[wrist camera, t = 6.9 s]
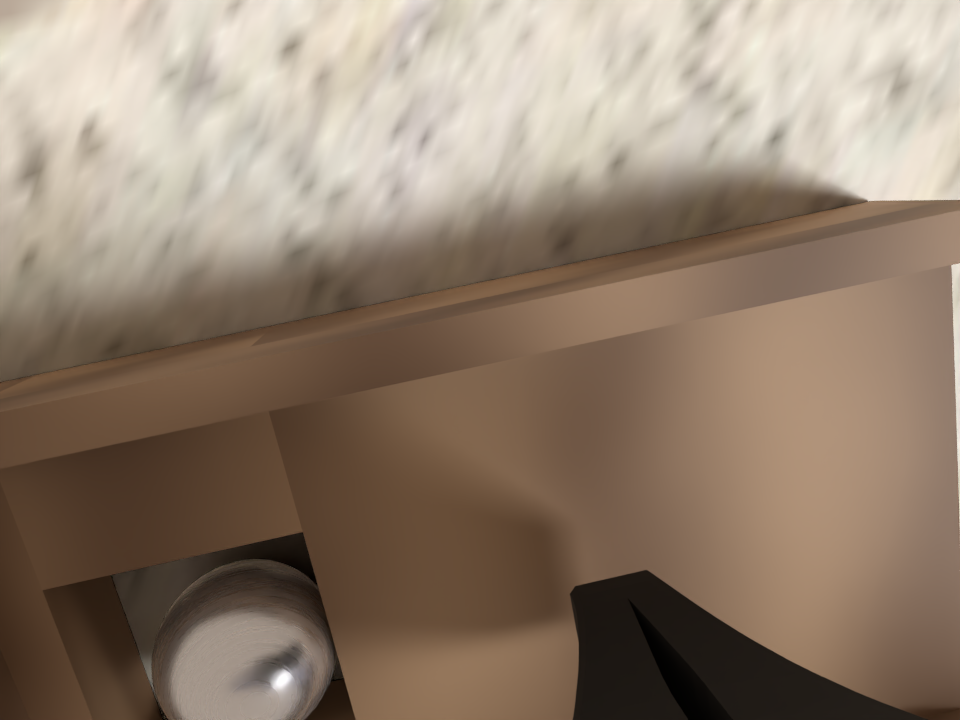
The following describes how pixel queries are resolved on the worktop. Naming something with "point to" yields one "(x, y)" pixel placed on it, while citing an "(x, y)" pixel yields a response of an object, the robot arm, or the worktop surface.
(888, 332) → the board
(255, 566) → the ball
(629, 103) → the worktop surface
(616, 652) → the robot arm
